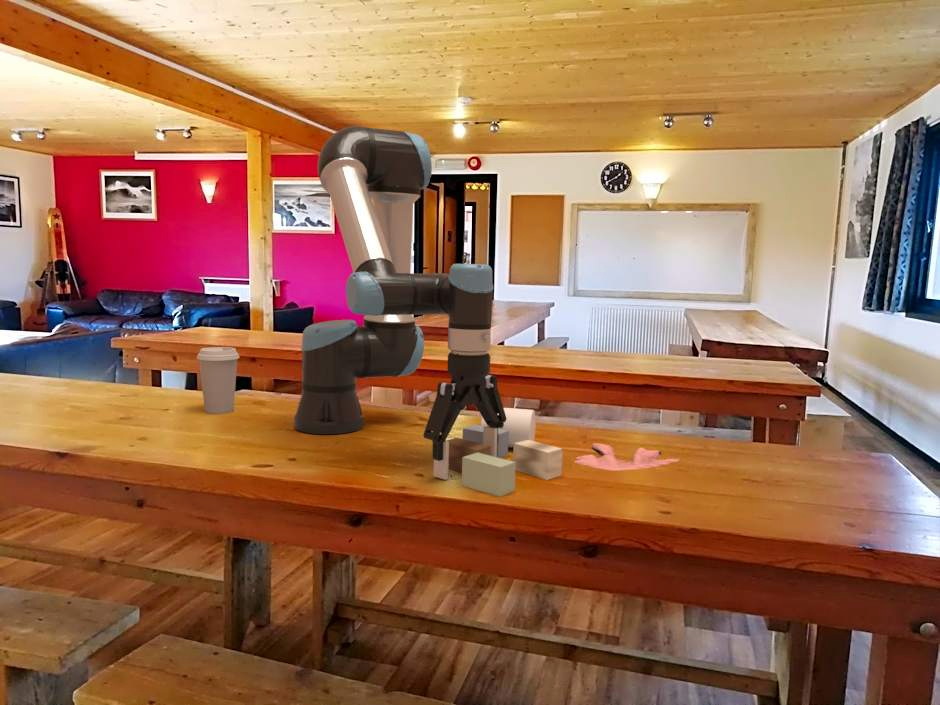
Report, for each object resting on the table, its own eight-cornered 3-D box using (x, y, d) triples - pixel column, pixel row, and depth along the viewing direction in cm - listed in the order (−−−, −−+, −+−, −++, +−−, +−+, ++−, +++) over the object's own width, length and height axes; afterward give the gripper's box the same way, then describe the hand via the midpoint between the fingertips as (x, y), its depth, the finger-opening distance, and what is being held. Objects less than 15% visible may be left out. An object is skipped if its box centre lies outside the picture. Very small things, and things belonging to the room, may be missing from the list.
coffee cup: (232, 416, 158) (230, 352, 156) (191, 414, 158) (189, 351, 156) (245, 407, 167) (245, 347, 166) (207, 406, 168) (206, 346, 166)
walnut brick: (441, 468, 123) (442, 441, 122) (455, 463, 126) (456, 437, 126) (476, 478, 118) (477, 450, 118) (490, 472, 121) (491, 445, 121)
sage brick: (461, 486, 114) (462, 457, 113) (476, 480, 117) (477, 452, 116) (499, 497, 109) (501, 467, 108) (514, 491, 112) (515, 462, 111)
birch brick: (512, 469, 124) (513, 443, 123) (527, 465, 126) (528, 439, 126) (547, 480, 118) (548, 452, 117) (561, 476, 121) (562, 448, 120)
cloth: (562, 468, 127) (563, 456, 127) (584, 441, 148) (585, 430, 147) (676, 483, 120) (677, 470, 120) (682, 452, 141) (683, 441, 140)
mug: (528, 454, 134) (530, 414, 133) (479, 449, 136) (480, 410, 135) (537, 439, 145) (539, 402, 144) (492, 435, 148) (493, 399, 147)
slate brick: (462, 453, 133) (462, 428, 133) (472, 448, 137) (473, 424, 136) (497, 460, 129) (498, 434, 129) (507, 455, 133) (508, 430, 132)
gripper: (437, 360, 107) (434, 490, 110) (527, 348, 127) (523, 459, 129) (403, 355, 112) (401, 480, 115) (495, 345, 131) (492, 451, 134)
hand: (466, 469), depth 122 cm, fingers open, 13 cm apart
